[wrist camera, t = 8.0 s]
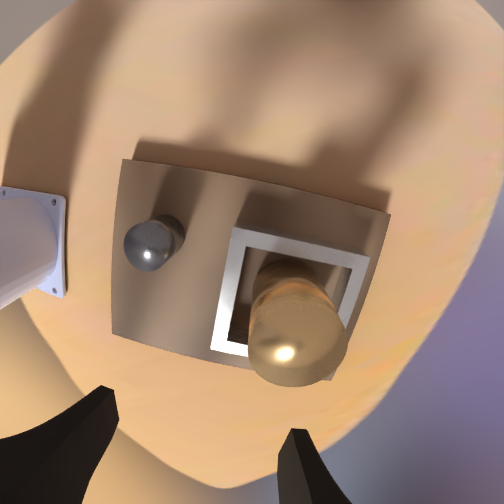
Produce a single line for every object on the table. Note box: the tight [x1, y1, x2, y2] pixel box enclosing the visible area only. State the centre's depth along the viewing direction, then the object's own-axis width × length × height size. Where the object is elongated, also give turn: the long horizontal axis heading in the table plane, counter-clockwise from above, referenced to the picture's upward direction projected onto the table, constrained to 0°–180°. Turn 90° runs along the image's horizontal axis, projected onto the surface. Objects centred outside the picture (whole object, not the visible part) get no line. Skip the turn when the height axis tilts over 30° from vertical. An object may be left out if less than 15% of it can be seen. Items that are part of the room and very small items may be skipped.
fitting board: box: [111, 159, 391, 381], centre depth 15 cm, size 16×12×4 cm
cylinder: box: [247, 259, 348, 387], centre depth 13 cm, size 4×4×6 cm
